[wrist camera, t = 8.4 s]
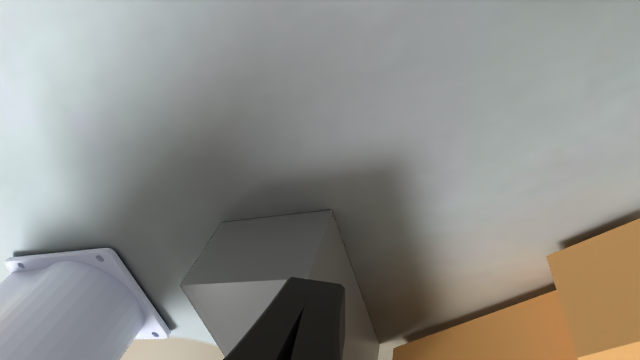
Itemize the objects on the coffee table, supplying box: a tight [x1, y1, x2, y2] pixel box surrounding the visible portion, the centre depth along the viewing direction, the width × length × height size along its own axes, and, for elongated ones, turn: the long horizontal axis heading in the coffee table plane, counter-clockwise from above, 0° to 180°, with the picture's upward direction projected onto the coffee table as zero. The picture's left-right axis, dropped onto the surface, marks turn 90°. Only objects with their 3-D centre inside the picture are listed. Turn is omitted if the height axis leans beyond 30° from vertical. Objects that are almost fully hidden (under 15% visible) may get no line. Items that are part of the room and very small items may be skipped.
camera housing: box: [180, 210, 380, 360], centre depth 22 cm, size 6×10×6 cm, turn 18°
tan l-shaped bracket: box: [393, 218, 640, 360], centre depth 18 cm, size 3×14×5 cm, turn 134°
